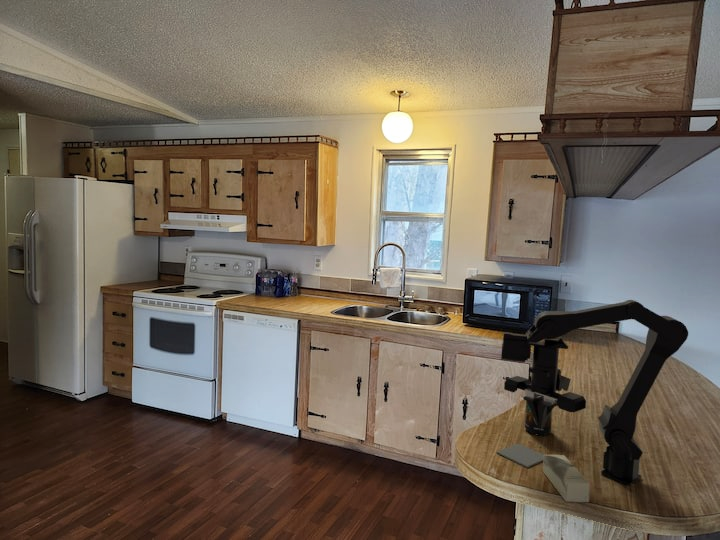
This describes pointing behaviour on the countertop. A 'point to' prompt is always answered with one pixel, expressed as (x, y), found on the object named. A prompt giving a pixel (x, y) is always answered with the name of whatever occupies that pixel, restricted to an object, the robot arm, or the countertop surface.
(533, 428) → the beverage can
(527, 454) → the mat
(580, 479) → the box
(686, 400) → the countertop surface
